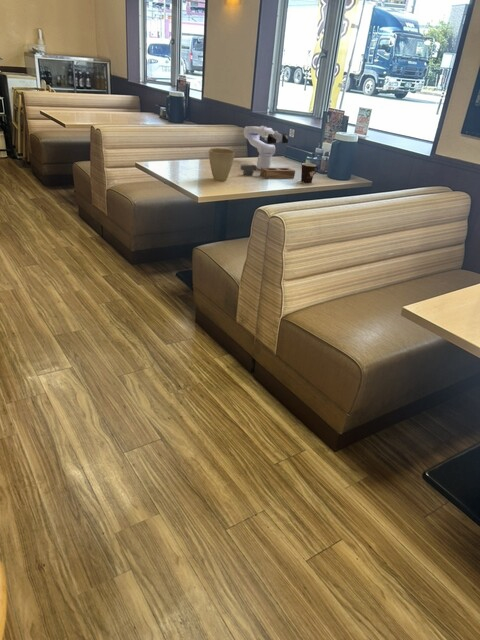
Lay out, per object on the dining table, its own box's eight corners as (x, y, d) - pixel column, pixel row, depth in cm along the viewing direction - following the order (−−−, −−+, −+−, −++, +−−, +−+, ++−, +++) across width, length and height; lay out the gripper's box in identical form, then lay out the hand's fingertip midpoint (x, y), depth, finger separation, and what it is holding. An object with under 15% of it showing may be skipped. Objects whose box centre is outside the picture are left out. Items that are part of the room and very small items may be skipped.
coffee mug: (301, 182, 284) (304, 165, 279) (297, 179, 291) (300, 162, 286) (319, 183, 286) (322, 166, 281) (315, 180, 293) (318, 163, 289)
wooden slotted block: (260, 175, 291) (260, 167, 289) (287, 174, 300) (288, 167, 297) (266, 178, 285) (267, 170, 283) (294, 178, 293) (295, 170, 291)
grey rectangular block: (240, 174, 288) (241, 164, 285) (253, 174, 292) (254, 164, 289) (242, 175, 286) (243, 165, 283) (255, 175, 290) (256, 165, 287)
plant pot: (203, 176, 275) (205, 147, 267) (227, 176, 280) (229, 148, 272) (211, 182, 263) (213, 153, 255) (236, 182, 268) (238, 153, 260)
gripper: (262, 129, 287) (271, 134, 277) (283, 129, 292) (293, 134, 281) (261, 141, 291) (270, 146, 281) (282, 140, 296) (291, 146, 285)
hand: (281, 141), depth 281 cm, fingers open, 7 cm apart
